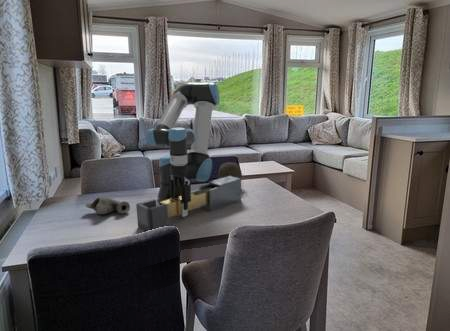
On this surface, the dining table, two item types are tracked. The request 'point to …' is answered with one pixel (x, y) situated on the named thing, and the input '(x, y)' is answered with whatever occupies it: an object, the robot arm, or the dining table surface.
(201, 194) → the bar
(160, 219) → the socket
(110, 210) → the pipe
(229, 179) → the sleeve
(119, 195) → the dining table surface
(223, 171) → the cantaloupe
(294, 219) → the dining table surface
